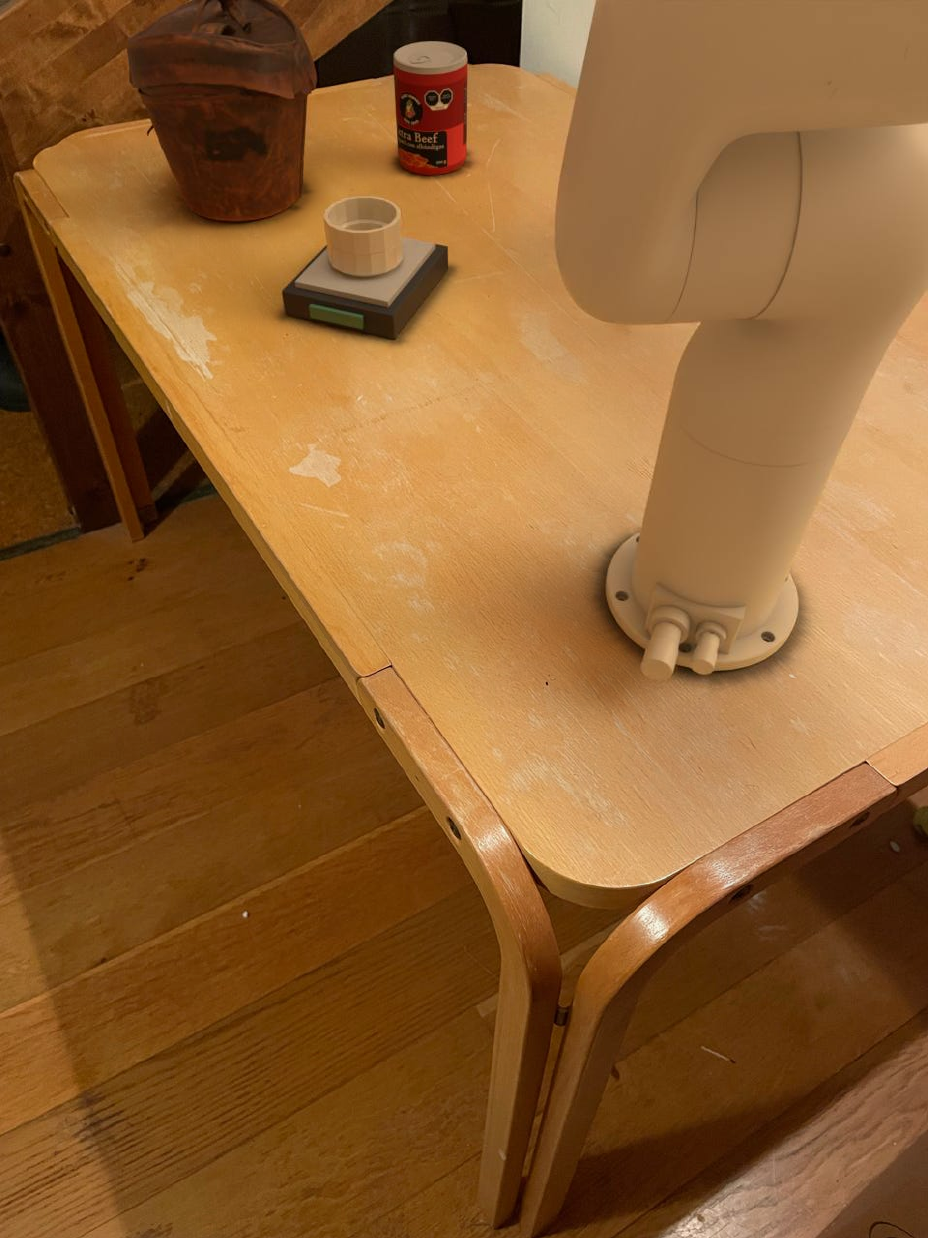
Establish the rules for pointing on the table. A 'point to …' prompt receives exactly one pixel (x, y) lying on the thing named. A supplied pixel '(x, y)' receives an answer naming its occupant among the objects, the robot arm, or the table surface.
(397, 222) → the small cup
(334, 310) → the scale
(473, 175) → the table surface
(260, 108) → the brown flower pot
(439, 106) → the canned food
